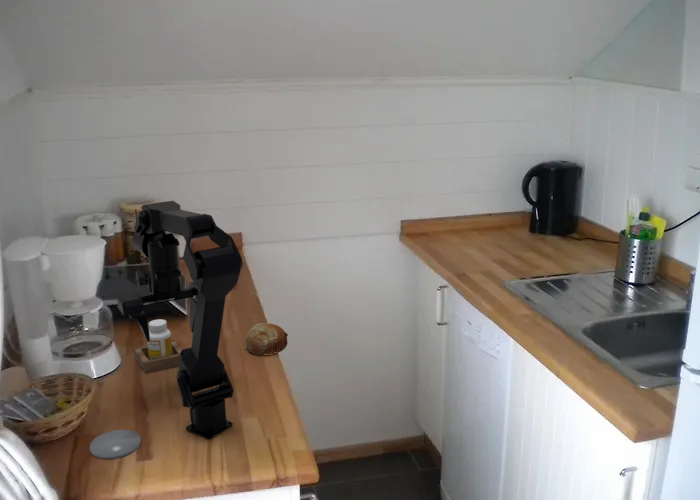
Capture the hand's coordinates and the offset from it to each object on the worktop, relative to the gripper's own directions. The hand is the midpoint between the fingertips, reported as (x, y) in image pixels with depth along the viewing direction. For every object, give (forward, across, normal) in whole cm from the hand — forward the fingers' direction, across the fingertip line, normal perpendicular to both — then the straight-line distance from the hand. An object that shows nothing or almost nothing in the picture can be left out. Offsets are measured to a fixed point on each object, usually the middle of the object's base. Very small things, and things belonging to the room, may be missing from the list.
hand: (170, 336), depth 149 cm
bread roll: (+14, -26, -12) cm, 32 cm away
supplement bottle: (+13, -2, -17) cm, 22 cm away
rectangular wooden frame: (+13, -2, -17) cm, 22 cm away
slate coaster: (+13, +15, +14) cm, 25 cm away
